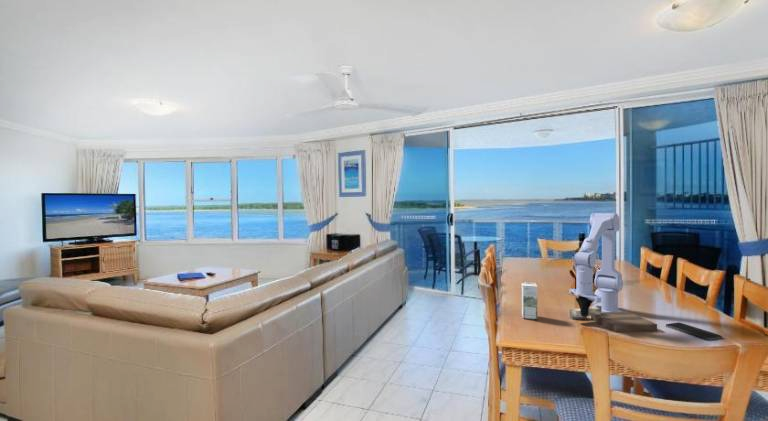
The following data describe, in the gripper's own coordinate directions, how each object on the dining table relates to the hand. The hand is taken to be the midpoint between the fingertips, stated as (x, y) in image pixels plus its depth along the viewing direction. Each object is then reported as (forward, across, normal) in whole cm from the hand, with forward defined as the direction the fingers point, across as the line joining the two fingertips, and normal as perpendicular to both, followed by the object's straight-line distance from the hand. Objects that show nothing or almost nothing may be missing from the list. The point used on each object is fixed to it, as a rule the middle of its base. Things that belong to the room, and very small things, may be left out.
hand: (584, 315), depth 143 cm
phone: (+4, +18, +31) cm, 36 cm away
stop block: (+3, -6, +3) cm, 7 cm away
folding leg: (0, -2, +3) cm, 4 cm away
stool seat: (+3, +4, +14) cm, 15 cm away
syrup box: (+4, -13, -16) cm, 21 cm away
